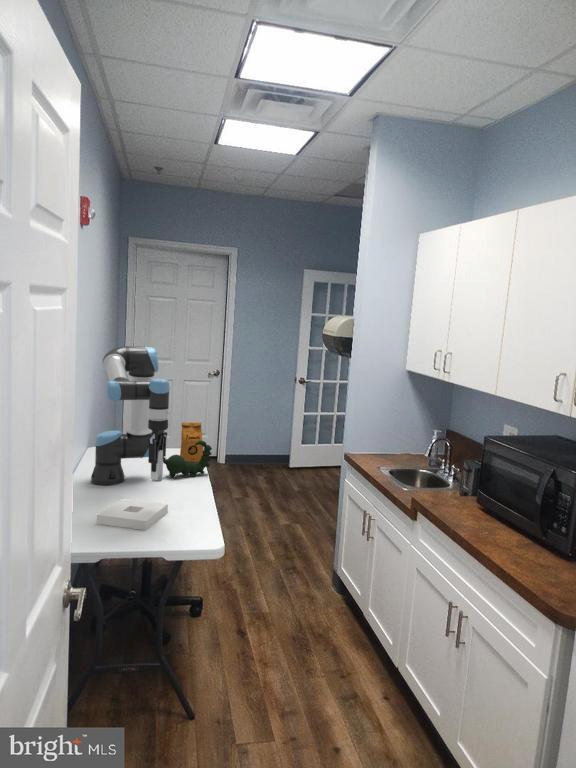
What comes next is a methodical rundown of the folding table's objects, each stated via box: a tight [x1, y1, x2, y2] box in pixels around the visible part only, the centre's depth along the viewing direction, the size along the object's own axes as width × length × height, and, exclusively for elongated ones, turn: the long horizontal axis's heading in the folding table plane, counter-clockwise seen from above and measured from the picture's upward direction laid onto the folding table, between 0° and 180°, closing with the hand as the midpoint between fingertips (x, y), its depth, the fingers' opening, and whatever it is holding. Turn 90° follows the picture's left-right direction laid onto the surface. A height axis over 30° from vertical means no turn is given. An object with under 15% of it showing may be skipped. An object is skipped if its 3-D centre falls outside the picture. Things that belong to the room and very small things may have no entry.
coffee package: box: [179, 421, 204, 463], centre depth 299 cm, size 10×12×22 cm
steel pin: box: [151, 449, 164, 483], centre depth 213 cm, size 4×4×12 cm
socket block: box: [95, 497, 169, 531], centre depth 213 cm, size 20×20×4 cm
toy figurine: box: [163, 440, 213, 478], centre depth 271 cm, size 9×19×25 cm
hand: (156, 477), depth 213 cm, fingers closed on steel pin, 4 cm apart
